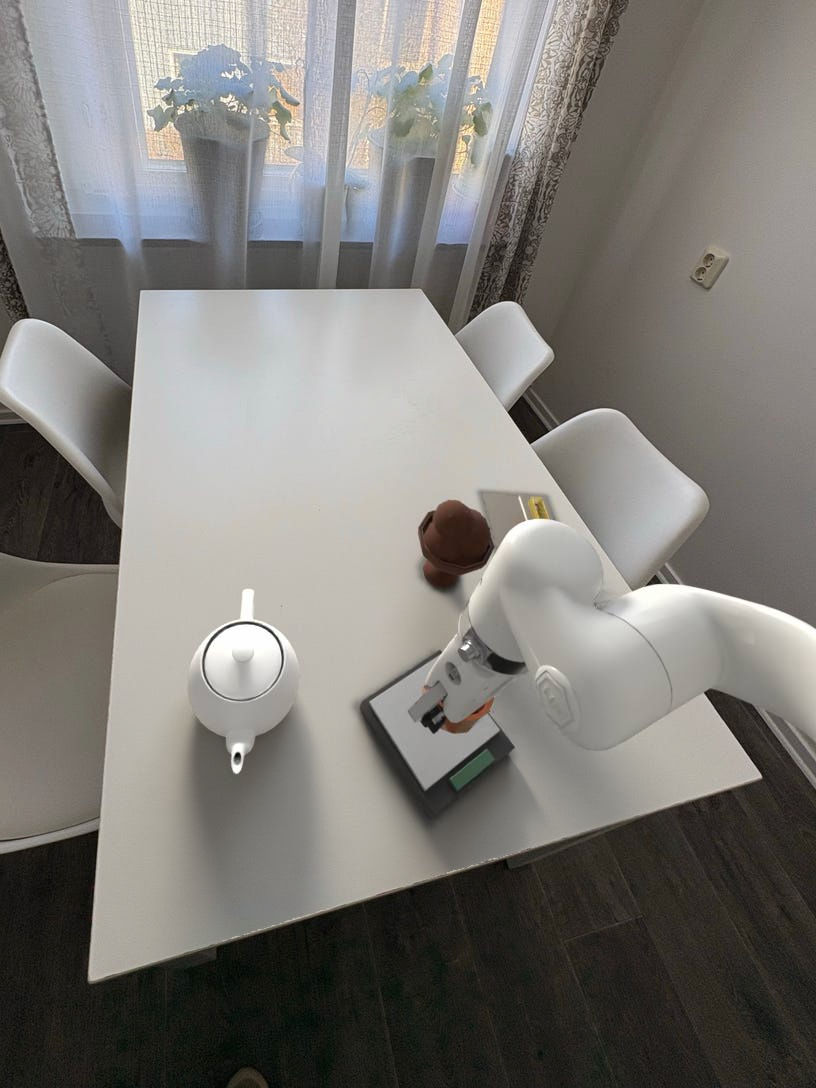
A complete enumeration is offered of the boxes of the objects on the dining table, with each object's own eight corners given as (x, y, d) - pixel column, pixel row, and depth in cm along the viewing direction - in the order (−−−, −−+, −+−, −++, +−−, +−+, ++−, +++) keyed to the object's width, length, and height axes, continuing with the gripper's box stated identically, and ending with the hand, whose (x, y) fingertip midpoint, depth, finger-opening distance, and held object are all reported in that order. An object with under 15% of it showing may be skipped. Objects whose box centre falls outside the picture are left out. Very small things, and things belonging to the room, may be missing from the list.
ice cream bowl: (413, 605, 78) (437, 547, 68) (401, 542, 86) (421, 482, 76) (482, 604, 80) (516, 547, 69) (464, 542, 87) (492, 483, 77)
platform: (546, 497, 97) (560, 473, 92) (578, 584, 84) (597, 562, 79) (482, 493, 96) (493, 468, 91) (505, 581, 83) (519, 557, 78)
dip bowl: (492, 713, 60) (507, 697, 56) (447, 748, 57) (459, 733, 53) (453, 661, 64) (464, 643, 60) (408, 692, 61) (417, 674, 57)
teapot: (199, 613, 74) (193, 571, 67) (297, 612, 76) (301, 571, 68) (176, 797, 59) (163, 770, 51) (299, 791, 60) (305, 764, 53)
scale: (508, 753, 65) (517, 745, 63) (429, 820, 60) (435, 813, 57) (435, 656, 73) (441, 646, 71) (359, 707, 67) (362, 698, 65)
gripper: (460, 721, 41) (413, 779, 54) (598, 617, 49) (528, 690, 61) (402, 640, 45) (370, 712, 58) (537, 556, 53) (483, 636, 66)
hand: (452, 700), depth 60 cm, fingers closed on dip bowl, 7 cm apart
